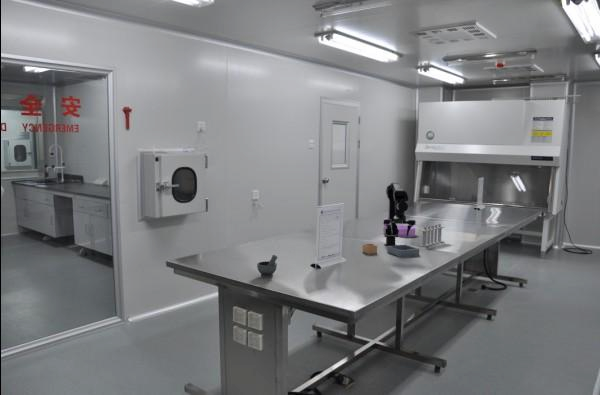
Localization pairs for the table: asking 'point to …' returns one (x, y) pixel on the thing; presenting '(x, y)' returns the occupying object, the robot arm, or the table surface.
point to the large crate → (403, 250)
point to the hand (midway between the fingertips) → (399, 236)
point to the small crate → (369, 248)
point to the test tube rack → (431, 235)
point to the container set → (403, 230)
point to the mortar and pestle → (267, 267)
